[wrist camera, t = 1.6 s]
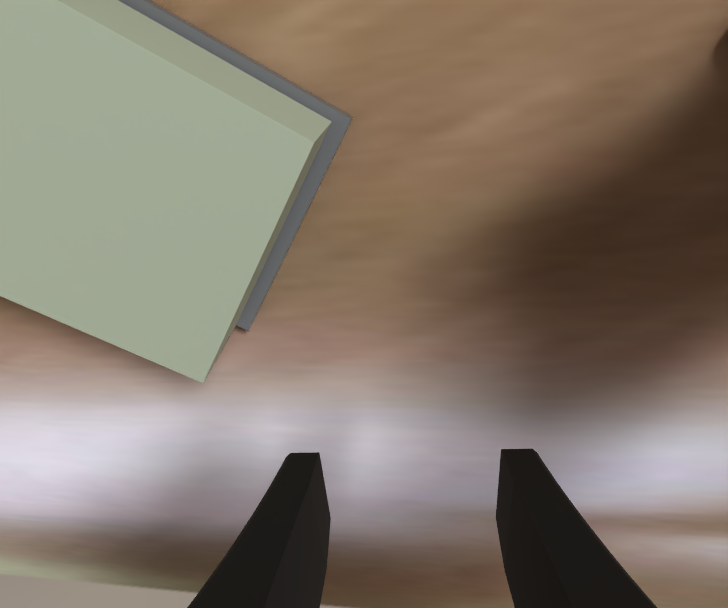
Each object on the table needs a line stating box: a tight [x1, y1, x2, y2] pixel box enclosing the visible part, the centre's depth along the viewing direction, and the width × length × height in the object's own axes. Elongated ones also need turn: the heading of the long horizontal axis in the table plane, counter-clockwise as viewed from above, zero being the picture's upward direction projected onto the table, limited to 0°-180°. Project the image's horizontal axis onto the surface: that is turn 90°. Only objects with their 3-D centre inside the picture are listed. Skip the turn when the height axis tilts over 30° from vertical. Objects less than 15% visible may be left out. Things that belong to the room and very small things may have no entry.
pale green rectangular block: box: [0, 0, 332, 383], centre depth 14 cm, size 12×8×4 cm
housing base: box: [118, 0, 353, 331], centre depth 14 cm, size 18×9×3 cm, turn 62°
